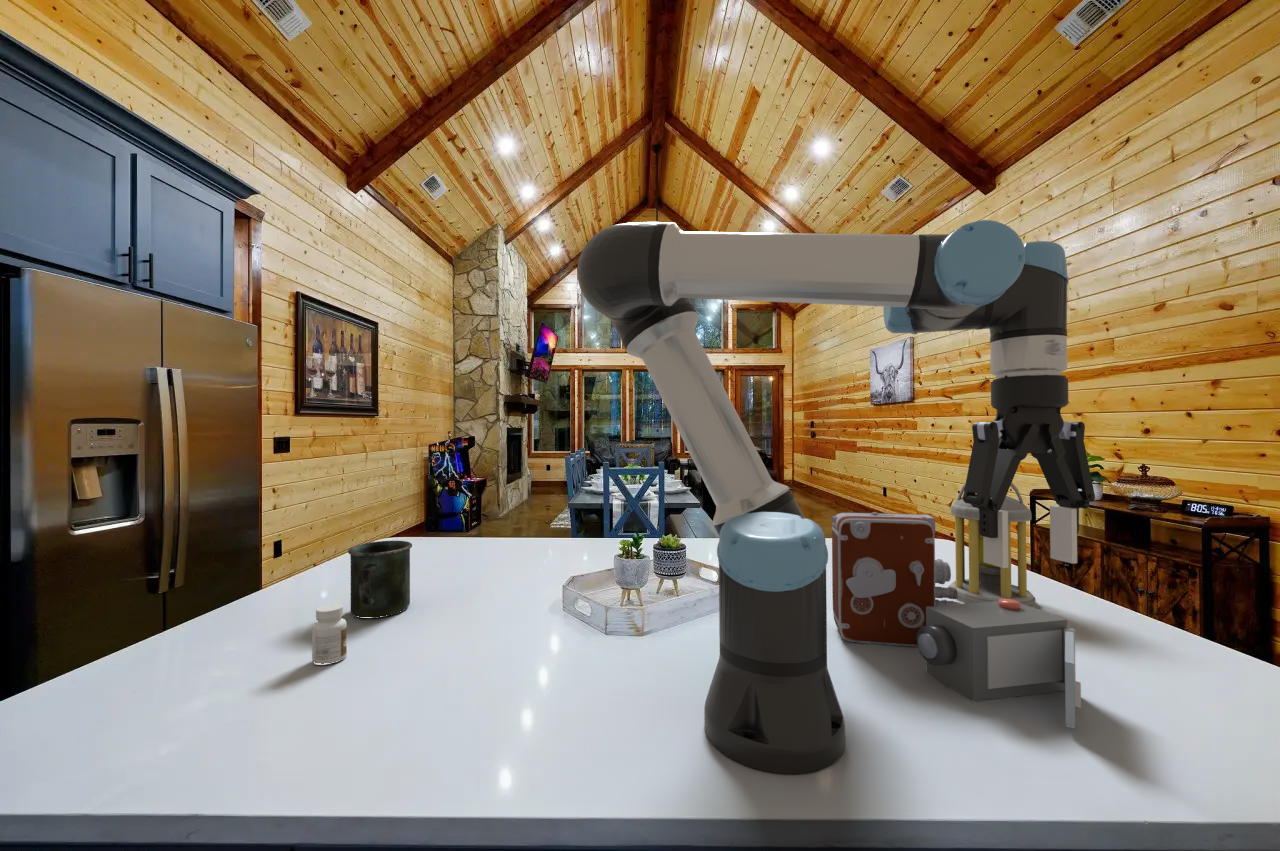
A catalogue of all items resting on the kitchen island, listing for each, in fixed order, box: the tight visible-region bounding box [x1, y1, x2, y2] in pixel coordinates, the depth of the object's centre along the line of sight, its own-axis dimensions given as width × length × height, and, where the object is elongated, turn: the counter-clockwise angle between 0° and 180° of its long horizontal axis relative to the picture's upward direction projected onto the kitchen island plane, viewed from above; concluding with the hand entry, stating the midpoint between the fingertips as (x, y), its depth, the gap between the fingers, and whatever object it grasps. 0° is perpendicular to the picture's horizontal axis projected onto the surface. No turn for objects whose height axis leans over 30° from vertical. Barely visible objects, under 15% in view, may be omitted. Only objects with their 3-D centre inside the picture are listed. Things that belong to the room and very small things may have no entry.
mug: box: [347, 540, 413, 617], centre depth 97 cm, size 11×15×12 cm
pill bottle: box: [311, 603, 348, 664], centre depth 77 cm, size 4×4×8 cm
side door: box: [1064, 627, 1082, 729], centre depth 62 cm, size 13×1×7 cm, turn 141°
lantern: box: [948, 482, 1037, 608], centre depth 104 cm, size 14×14×25 cm
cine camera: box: [831, 511, 965, 648], centre depth 84 cm, size 9×19×20 cm, turn 78°
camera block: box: [917, 599, 1068, 702], centre depth 70 cm, size 16×8×10 cm, turn 101°
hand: (1030, 562), depth 63 cm, fingers open, 9 cm apart
